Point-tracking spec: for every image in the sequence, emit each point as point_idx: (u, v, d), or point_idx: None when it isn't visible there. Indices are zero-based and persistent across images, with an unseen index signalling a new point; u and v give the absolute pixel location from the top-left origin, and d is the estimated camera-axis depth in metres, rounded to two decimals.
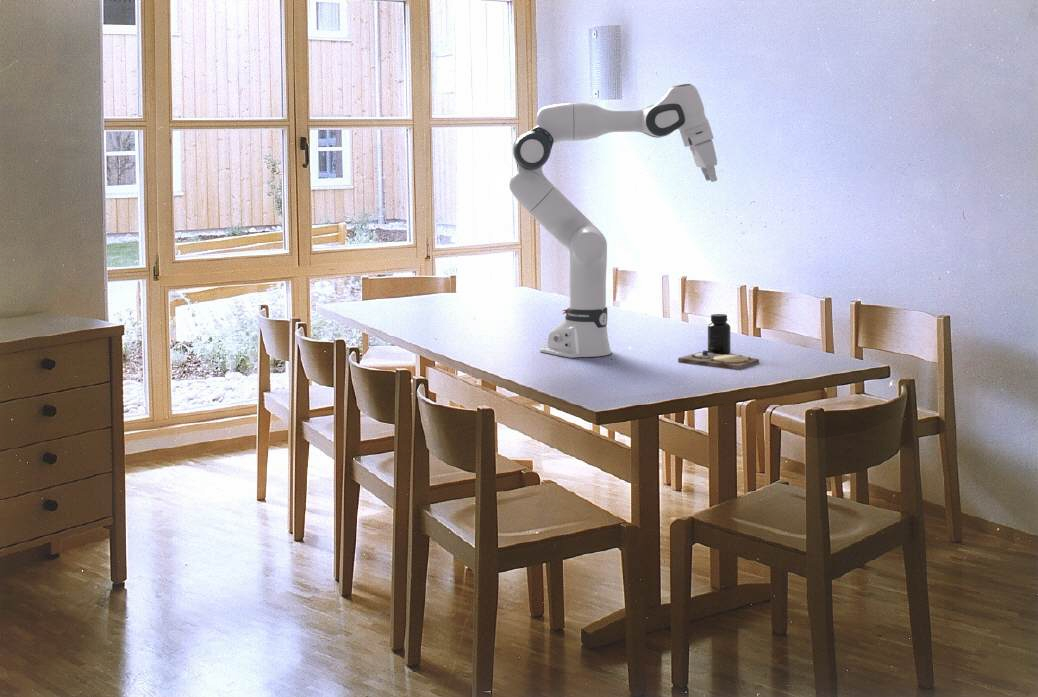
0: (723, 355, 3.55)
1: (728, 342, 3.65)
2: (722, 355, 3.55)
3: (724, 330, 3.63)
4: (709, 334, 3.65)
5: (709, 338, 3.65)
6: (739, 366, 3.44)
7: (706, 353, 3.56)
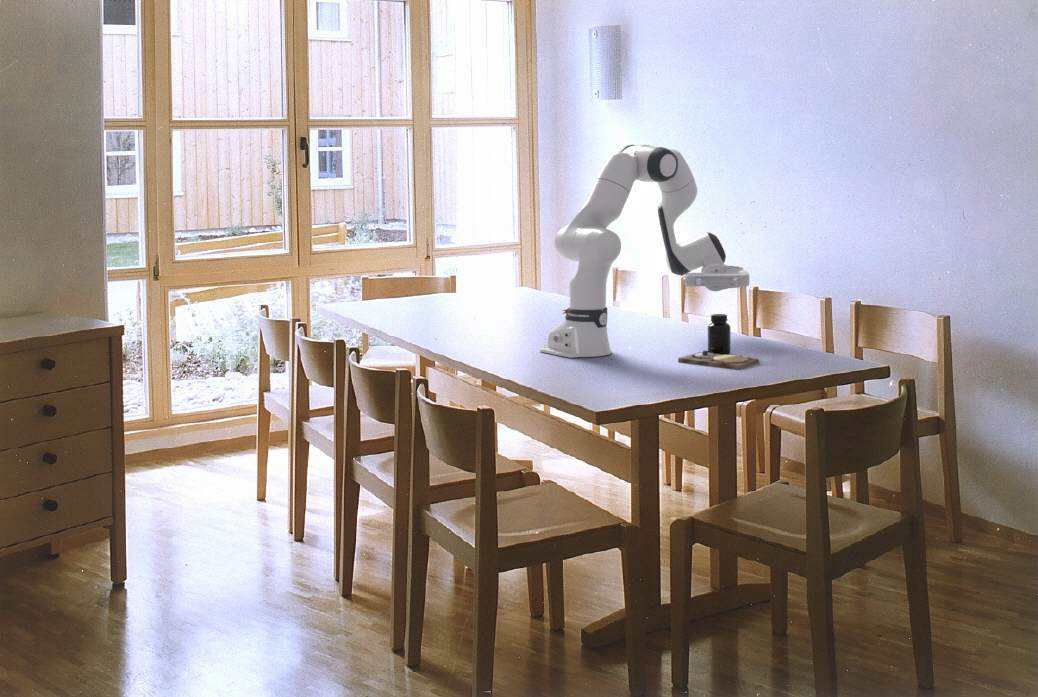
0: (723, 355, 3.55)
1: (728, 342, 3.65)
2: (722, 355, 3.55)
3: (724, 330, 3.63)
4: (709, 334, 3.65)
5: (709, 338, 3.65)
6: (739, 366, 3.44)
7: (706, 353, 3.56)
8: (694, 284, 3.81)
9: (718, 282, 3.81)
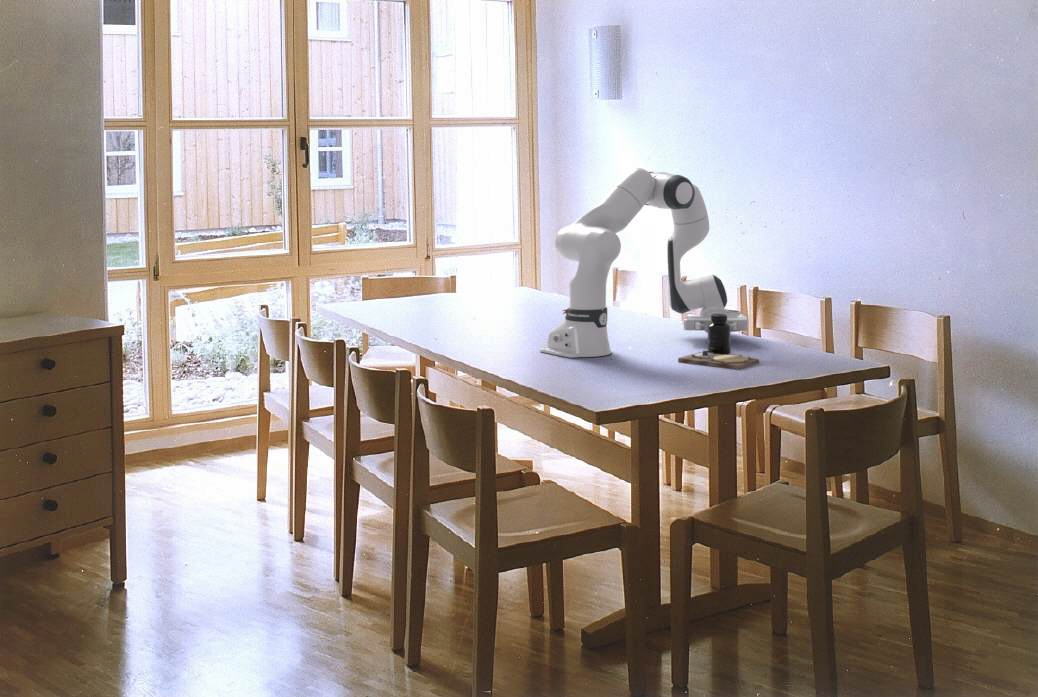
0: (723, 355, 3.55)
1: (728, 342, 3.65)
2: (722, 355, 3.55)
3: (724, 330, 3.63)
4: (709, 334, 3.65)
5: (709, 338, 3.65)
6: (739, 366, 3.44)
7: (706, 353, 3.56)
8: (693, 328, 3.82)
9: None
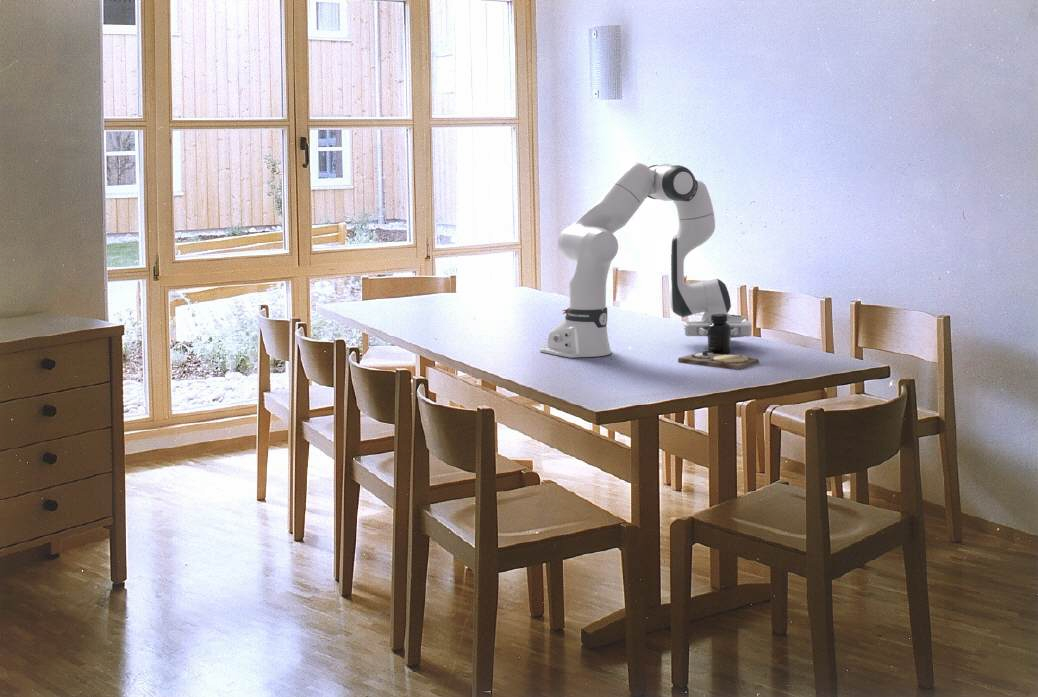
0: (723, 355, 3.55)
1: (728, 342, 3.65)
2: (722, 355, 3.55)
3: (724, 330, 3.63)
4: (709, 334, 3.65)
5: (709, 338, 3.65)
6: (739, 366, 3.44)
7: (706, 353, 3.56)
8: (695, 334, 3.71)
9: None
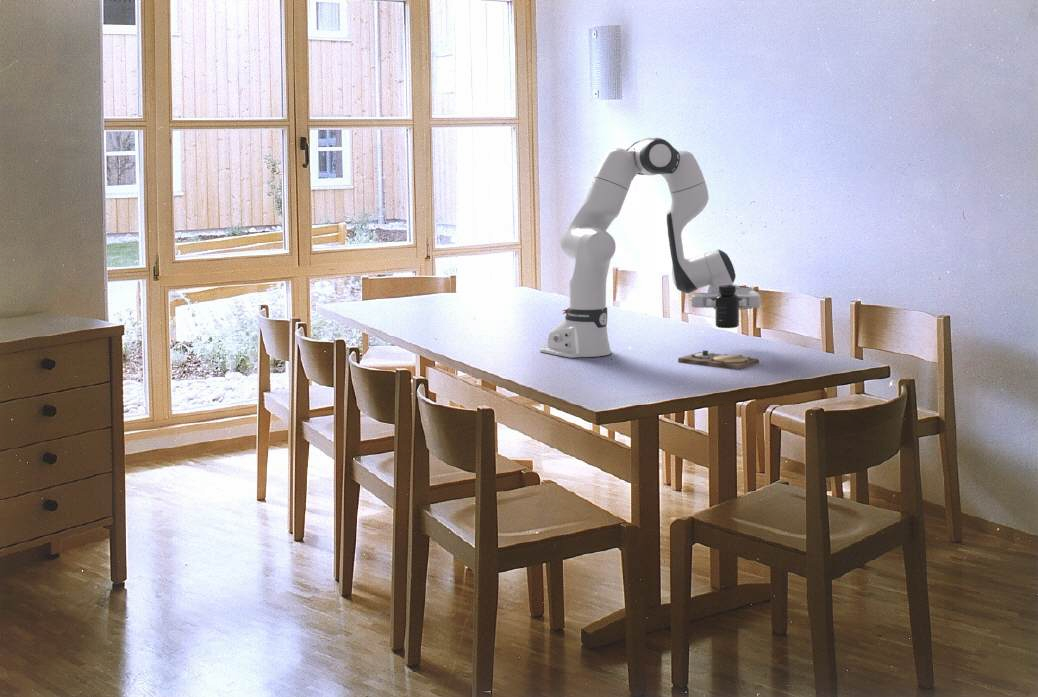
0: (723, 355, 3.55)
1: (737, 314, 3.53)
2: (722, 355, 3.55)
3: (733, 301, 3.52)
4: (717, 306, 3.54)
5: (717, 310, 3.54)
6: (739, 366, 3.44)
7: (706, 353, 3.56)
8: (702, 305, 3.59)
9: None
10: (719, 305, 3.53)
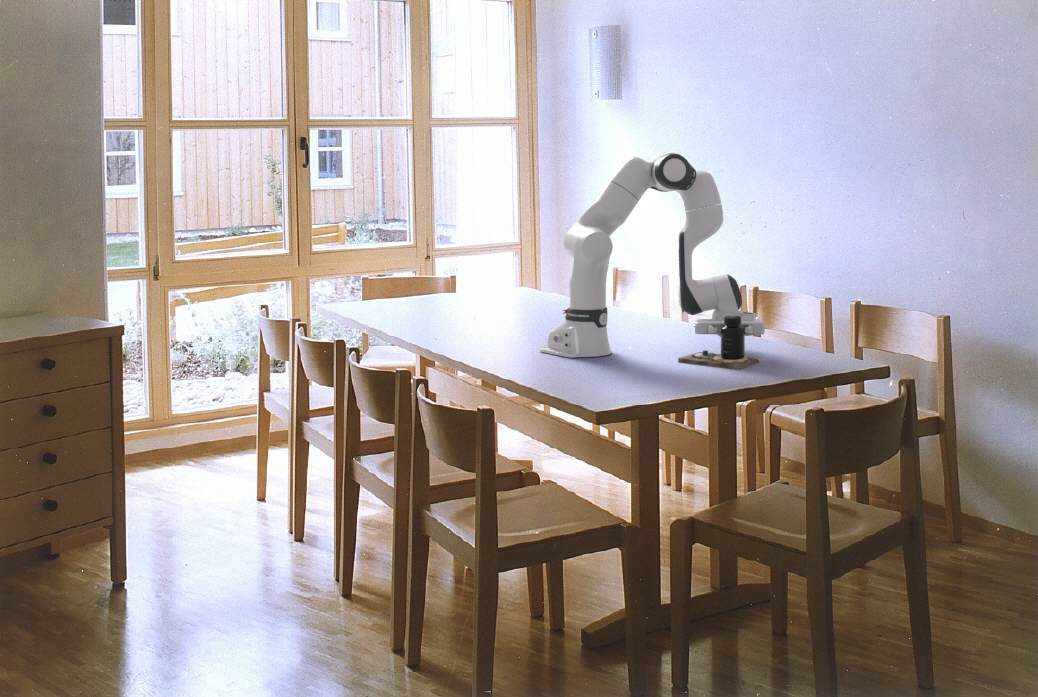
0: None
1: (742, 345, 3.48)
2: None
3: (738, 333, 3.47)
4: (722, 337, 3.49)
5: (722, 341, 3.49)
6: (739, 366, 3.44)
7: (706, 353, 3.56)
8: (705, 332, 3.54)
9: None
10: (724, 336, 3.48)
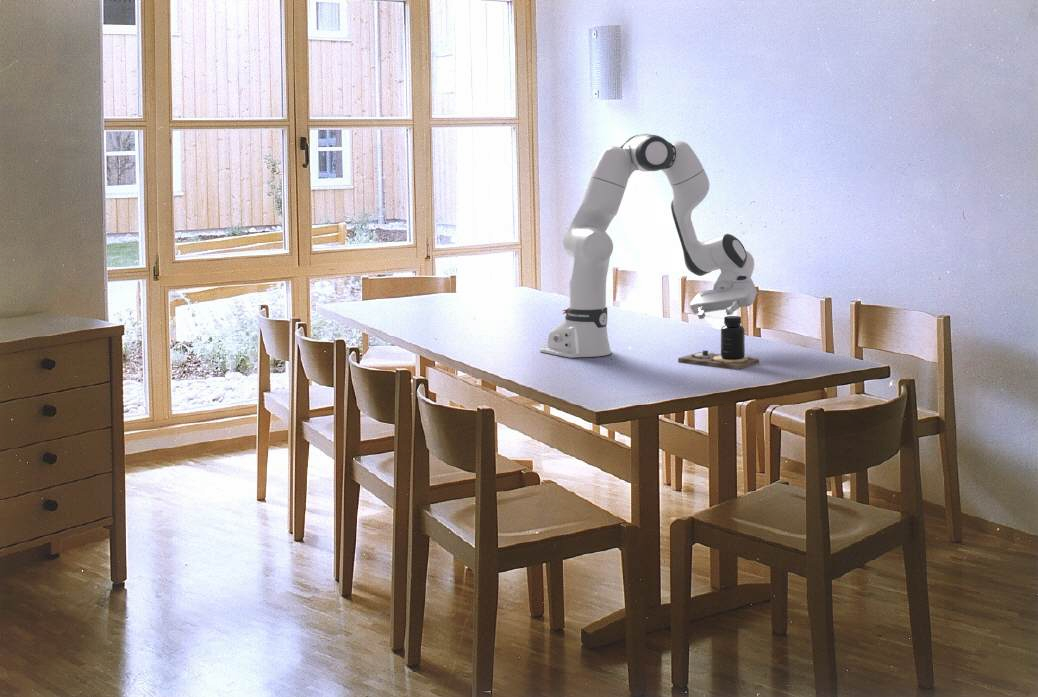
0: None
1: (742, 345, 3.48)
2: None
3: (738, 333, 3.47)
4: (722, 337, 3.49)
5: (722, 341, 3.49)
6: (739, 366, 3.44)
7: (706, 353, 3.56)
8: None
9: (722, 306, 3.67)
10: (724, 336, 3.48)
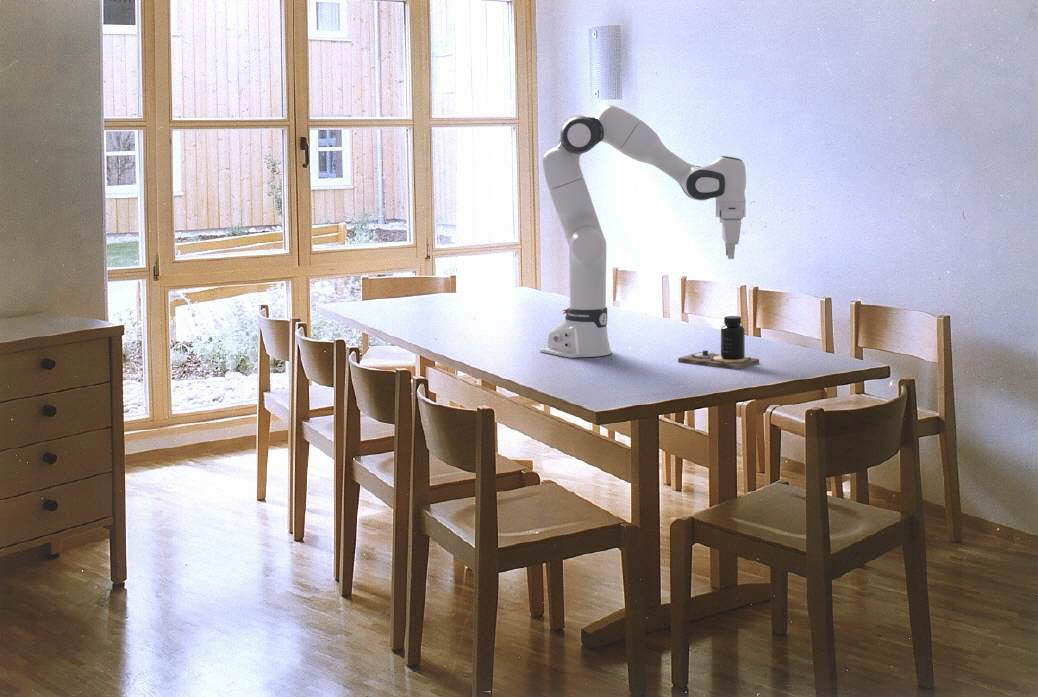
0: None
1: (742, 345, 3.48)
2: None
3: (738, 333, 3.47)
4: (722, 337, 3.49)
5: (722, 341, 3.49)
6: (739, 366, 3.44)
7: (706, 353, 3.56)
8: None
9: None
10: (724, 336, 3.48)
